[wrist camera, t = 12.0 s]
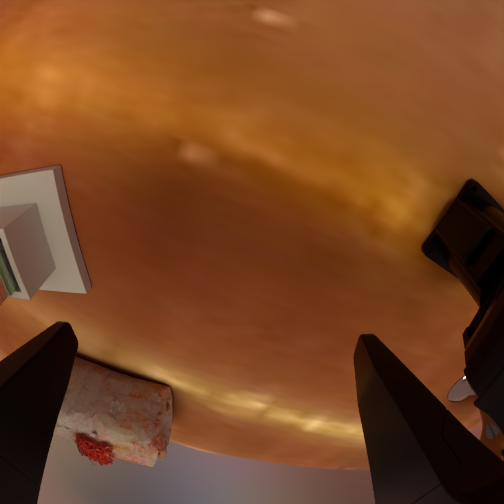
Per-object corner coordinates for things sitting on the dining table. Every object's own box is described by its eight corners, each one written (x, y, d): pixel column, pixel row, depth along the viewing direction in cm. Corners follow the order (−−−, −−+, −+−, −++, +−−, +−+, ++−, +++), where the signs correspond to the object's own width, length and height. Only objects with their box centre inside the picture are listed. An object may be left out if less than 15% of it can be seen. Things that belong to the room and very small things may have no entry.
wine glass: (507, 356, 27) (554, 455, 14) (484, 394, 31) (518, 484, 18) (456, 372, 28) (499, 487, 15) (436, 409, 32) (465, 509, 19)
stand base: (60, 165, 18) (7, 197, 13) (91, 286, 23) (59, 335, 18) (-22, 180, 19) (-68, 210, 14) (10, 279, 24) (-23, 318, 19)
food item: (183, 381, 29) (163, 471, 21) (174, 417, 33) (158, 491, 25) (58, 339, 28) (17, 414, 19) (67, 381, 32) (38, 446, 23)
